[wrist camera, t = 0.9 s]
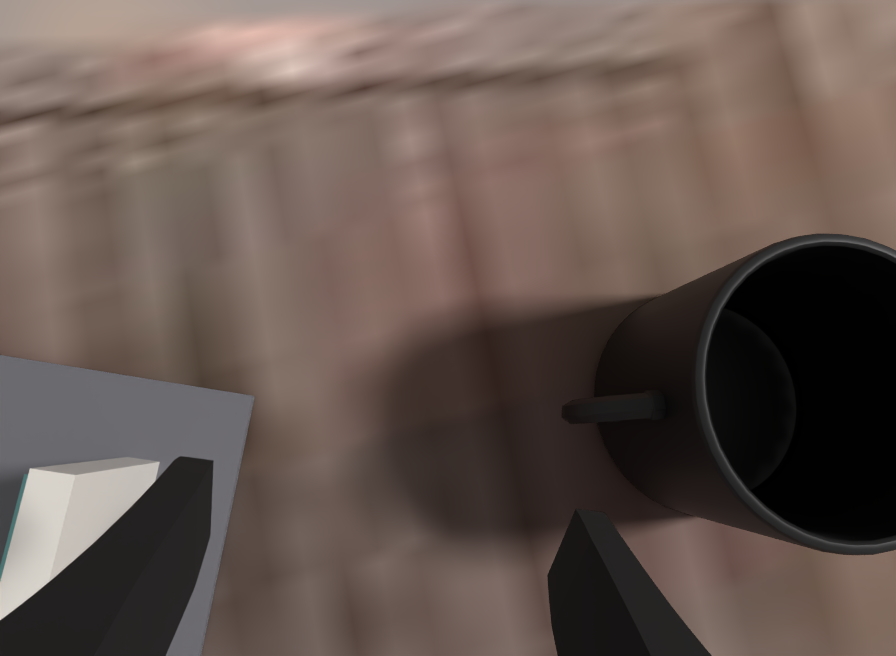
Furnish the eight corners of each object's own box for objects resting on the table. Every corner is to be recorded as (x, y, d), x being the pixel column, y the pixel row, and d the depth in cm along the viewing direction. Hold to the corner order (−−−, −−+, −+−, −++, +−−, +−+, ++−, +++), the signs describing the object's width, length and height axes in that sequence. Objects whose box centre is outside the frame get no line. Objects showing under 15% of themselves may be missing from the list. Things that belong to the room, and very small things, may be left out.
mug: (520, 303, 28) (588, 243, 19) (782, 286, 29) (962, 223, 20) (543, 532, 26) (629, 586, 17) (817, 502, 28) (1027, 538, 19)
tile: (108, 686, 23) (-5, 795, 16) (67, 681, 23) (-63, 789, 16) (159, 461, 25) (75, 475, 18) (122, 456, 24) (22, 467, 18)
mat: (175, 780, 23) (171, 786, 23) (-209, 738, 22) (-220, 743, 22) (254, 396, 26) (252, 396, 25) (-90, 340, 25) (-97, 339, 24)
